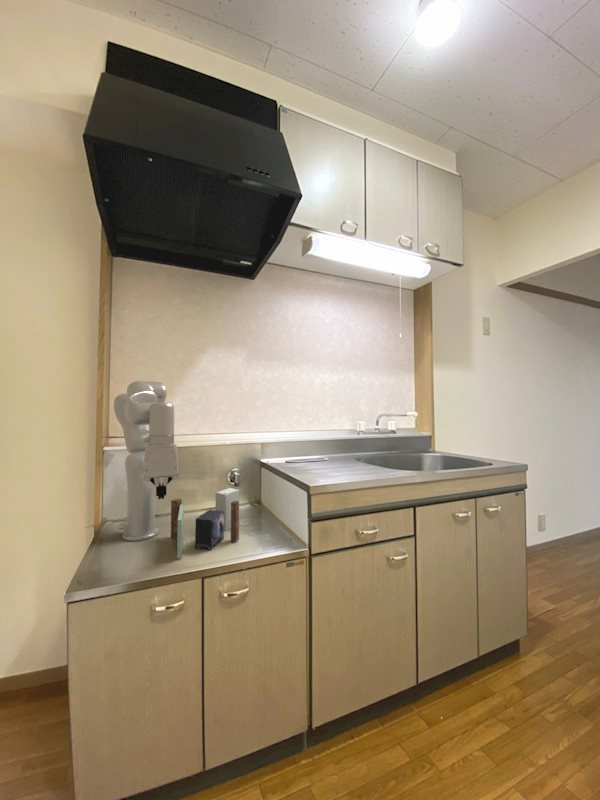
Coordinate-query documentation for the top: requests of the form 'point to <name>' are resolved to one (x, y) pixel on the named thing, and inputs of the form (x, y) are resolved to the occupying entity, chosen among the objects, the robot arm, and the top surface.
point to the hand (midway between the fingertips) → (161, 498)
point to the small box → (209, 529)
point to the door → (180, 530)
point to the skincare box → (226, 504)
